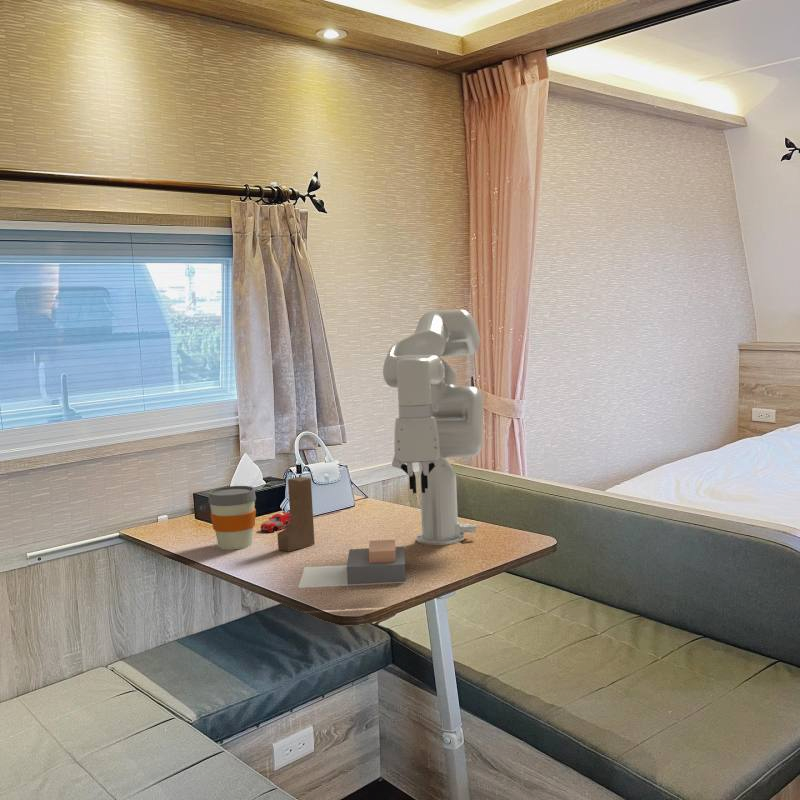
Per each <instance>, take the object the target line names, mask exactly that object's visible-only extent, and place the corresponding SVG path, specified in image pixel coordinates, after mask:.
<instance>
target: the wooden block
mask: <svg viewBox="0 0 800 800" xmlns="http://www.w3.org/2000/svg"><path fill="white" fill-rule="evenodd" d="M287 485H288V486H287V487H288V502H289V503H288V504H289V513H290V520H289V524H288V526H287V527H286V528H284V529H282V530H281V531H279V532H277V546H278V547H277V548H278V550H280V551H284V552H287V553H289V552H293V551H297V550H301V549H303V548H307V547H310V546H314V545H315V529H314V527H315V526H314V510H313V509H314V508H313V495H312V494H313V493H312V492H313V491H312V479H311V478H310V477H305V476H297V477H291V478H289V479H287Z"/></svg>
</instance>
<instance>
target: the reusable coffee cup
mask: <svg viewBox="0 0 800 800" xmlns="http://www.w3.org/2000/svg"><path fill="white" fill-rule="evenodd" d="M256 500H257V496H256V491H255V487H254V486H250V485H230V486H222V487H218V488H214V489H211V490H209V492H208V504H209V505H210V518H211V523H212V529H213V530H214V531H215V536H216V542H217V546H218V548H219V549H220V548H221V549H220V550H224V549H225V550H224V551H234V550H233V549H237V550H242V549H241V548H243V549H246V548H248V546H249V547H251V546H252V545H253V540H254V538H253V536H254V527H255V526H256V517H257V516H256V515H257V509H256V508H255V506H256V504H255V503H256ZM250 545H251V546H250ZM245 547H246V548H245Z"/></svg>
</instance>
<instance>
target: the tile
mask: <svg viewBox="0 0 800 800" xmlns="http://www.w3.org/2000/svg"><path fill="white" fill-rule="evenodd" d="M368 544H369V545H368V548H369V563H372V562H392V561H396V550H395V547H396V539H382V540H381V539H379V540H369V543H368Z"/></svg>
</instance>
